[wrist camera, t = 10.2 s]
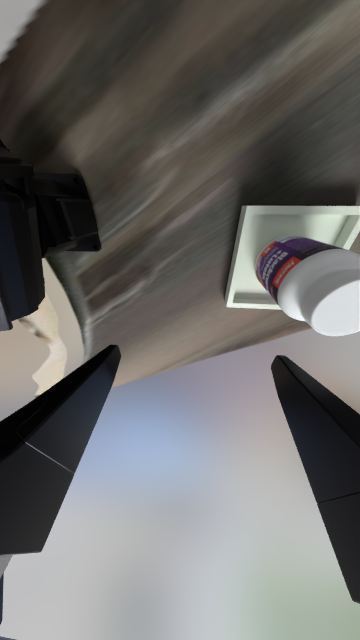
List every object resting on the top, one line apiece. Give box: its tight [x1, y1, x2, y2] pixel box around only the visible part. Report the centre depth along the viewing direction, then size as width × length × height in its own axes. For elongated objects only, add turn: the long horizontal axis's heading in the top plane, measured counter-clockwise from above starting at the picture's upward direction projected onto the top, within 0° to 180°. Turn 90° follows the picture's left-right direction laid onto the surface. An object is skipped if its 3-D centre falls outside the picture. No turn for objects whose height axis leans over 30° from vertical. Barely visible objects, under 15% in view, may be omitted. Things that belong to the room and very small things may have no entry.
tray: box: [224, 206, 360, 310], centre depth 17 cm, size 10×10×2 cm
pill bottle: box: [255, 235, 360, 336], centre depth 13 cm, size 5×5×10 cm
